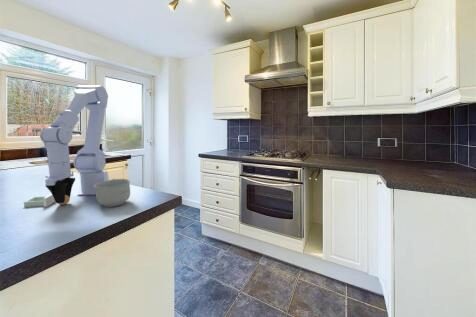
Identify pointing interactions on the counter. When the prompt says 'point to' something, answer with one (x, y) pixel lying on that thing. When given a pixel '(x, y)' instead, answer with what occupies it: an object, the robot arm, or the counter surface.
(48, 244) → the counter surface
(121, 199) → the teacup
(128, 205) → the counter surface
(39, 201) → the tray
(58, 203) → the ball
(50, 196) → the wall
